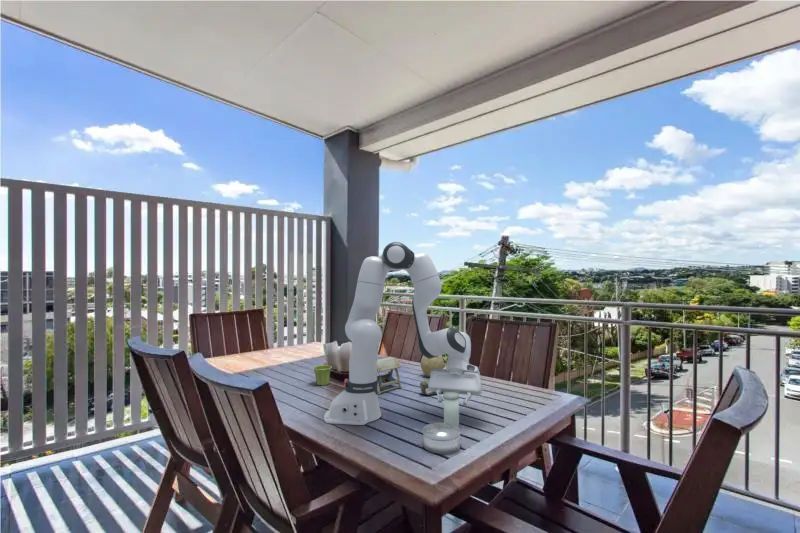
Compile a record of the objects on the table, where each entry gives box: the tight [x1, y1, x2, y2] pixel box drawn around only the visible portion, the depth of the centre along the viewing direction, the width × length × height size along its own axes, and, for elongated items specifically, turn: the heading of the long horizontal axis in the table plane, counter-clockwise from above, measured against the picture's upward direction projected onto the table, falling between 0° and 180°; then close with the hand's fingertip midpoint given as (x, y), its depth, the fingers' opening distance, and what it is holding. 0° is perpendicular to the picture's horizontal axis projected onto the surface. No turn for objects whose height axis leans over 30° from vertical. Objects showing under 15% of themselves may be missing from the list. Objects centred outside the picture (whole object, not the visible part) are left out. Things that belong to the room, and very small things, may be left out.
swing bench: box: [377, 356, 402, 396], centre depth 183 cm, size 15×10×15 cm, turn 134°
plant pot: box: [312, 364, 333, 387], centre depth 193 cm, size 9×9×9 cm
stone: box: [419, 377, 437, 396], centre depth 176 cm, size 14×7×10 cm, turn 136°
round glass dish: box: [422, 422, 462, 455], centre depth 122 cm, size 12×12×5 cm
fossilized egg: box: [420, 354, 445, 378], centre depth 205 cm, size 13×13×15 cm
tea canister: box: [442, 392, 460, 428], centre depth 137 cm, size 6×6×12 cm
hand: (452, 403), depth 138 cm, fingers open, 8 cm apart
